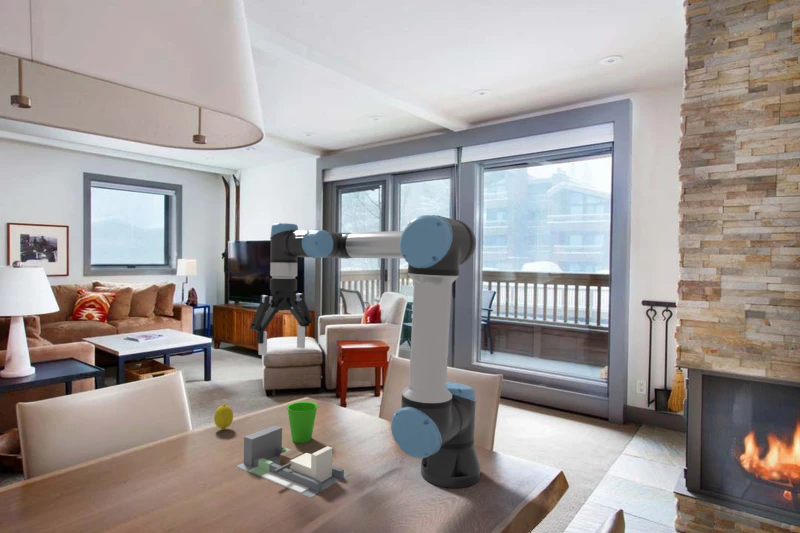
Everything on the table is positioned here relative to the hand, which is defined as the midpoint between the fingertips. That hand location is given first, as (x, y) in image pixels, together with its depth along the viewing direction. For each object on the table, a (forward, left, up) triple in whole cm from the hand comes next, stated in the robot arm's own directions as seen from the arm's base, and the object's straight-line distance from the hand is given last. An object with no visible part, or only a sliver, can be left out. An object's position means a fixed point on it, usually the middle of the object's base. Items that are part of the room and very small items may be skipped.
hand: (282, 351), depth 131 cm
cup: (-4, -5, -28) cm, 28 cm away
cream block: (-22, +13, -26) cm, 36 cm away
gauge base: (-16, +10, -27) cm, 33 cm away
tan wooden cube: (-15, +10, -26) cm, 32 cm away
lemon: (+23, +2, -28) cm, 36 cm away
